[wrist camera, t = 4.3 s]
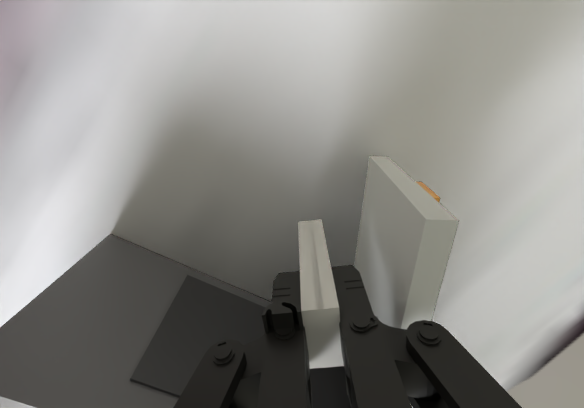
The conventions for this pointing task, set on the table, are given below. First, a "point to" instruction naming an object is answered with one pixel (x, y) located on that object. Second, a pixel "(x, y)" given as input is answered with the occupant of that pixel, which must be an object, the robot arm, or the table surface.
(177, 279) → the block
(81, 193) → the table surface
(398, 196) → the side door
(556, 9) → the table surface
